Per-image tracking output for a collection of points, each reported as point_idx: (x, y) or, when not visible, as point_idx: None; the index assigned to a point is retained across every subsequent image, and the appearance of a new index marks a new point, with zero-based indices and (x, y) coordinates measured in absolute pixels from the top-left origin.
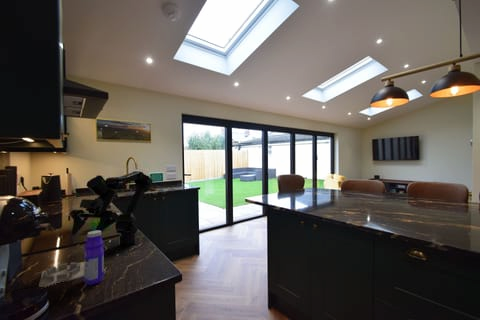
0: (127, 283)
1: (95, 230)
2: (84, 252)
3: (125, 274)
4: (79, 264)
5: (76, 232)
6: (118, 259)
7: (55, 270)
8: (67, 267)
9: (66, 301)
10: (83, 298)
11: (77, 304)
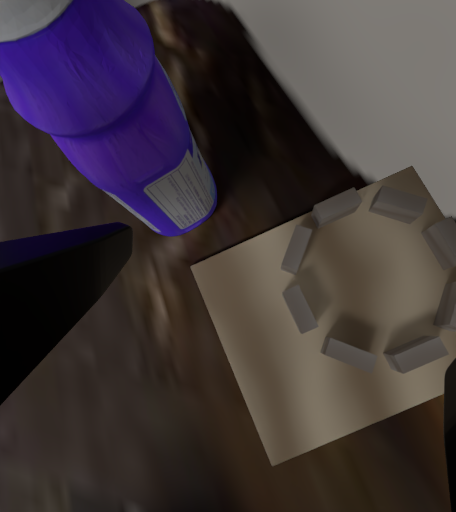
0: (32, 144)
1: (76, 239)
2: (171, 82)
3: (49, 224)
4: (300, 320)
5: (448, 430)
6: (117, 434)
7: (438, 323)
8: (393, 374)
9: (223, 63)
10: (169, 72)
11: (175, 42)
